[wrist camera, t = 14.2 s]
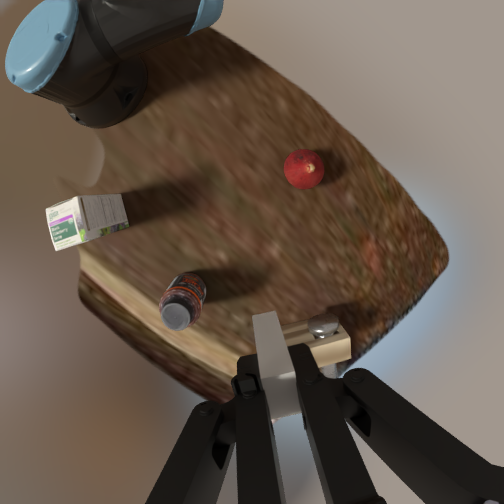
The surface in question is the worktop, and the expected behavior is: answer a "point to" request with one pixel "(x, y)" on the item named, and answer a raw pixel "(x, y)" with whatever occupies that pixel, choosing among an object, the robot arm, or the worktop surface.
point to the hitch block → (319, 343)
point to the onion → (303, 169)
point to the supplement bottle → (182, 301)
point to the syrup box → (85, 219)
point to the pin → (323, 328)
